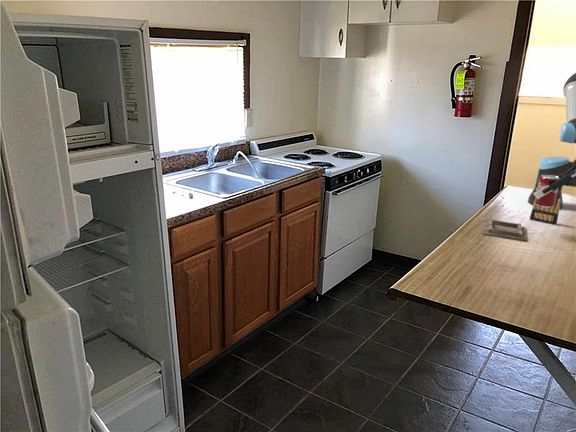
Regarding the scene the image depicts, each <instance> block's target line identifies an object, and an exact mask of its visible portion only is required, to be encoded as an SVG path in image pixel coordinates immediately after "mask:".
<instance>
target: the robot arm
mask: <svg viewBox="0 0 576 432" xmlns="http://www.w3.org/2000/svg"><path fill="white" fill-rule="evenodd" d="M562 91H563V96H564V98H565V120H566V121H565V123H563V124H562V125H561V127H560V132H559V141H560V142H562V143H567V144H576V72H574V73H573V74H572V75H570V76H569V77H568V79H567V80H566V81H565V83H564V85H563V89H562ZM541 175H554V176H557V177H559V179H558V180H556V181H555V182H553V183H552V184H550V183H548V185H547V186H545V187H544V188H542V189H540V190H539V191H537V189H538V184H539V180H540V176H541ZM565 186H566V187H572V188H573V187H574V188H576V157H574V159H573V161H570V159H569V157H565V156H564V157H563V156H548V157H547V156H546V157H544V158H542V159H541V160H540V164H539V166H538V172H537V177H536V180H535V185H534V188H533V190H532V191H531V193H530V194H529V195H528V200H527V203H528V204H530V205H532V206H533V204H534V201H535V197H536V198H537V199H539V198H541V197H542V196H544V195H546V194H548V193H549V192H551V191H553V190H554V191H555V190H556V189H558V192H557V196H556V205H555V208H556V206H557V203H558V200H559V198H561V203H560V209H561V208H562V207H563V203H564V202H563V201H564V200H563V193H562V191H563V187H565Z"/></svg>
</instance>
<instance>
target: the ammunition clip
mask: <svg viewBox="0 0 576 432" xmlns="http://www.w3.org/2000/svg"><path fill="white" fill-rule="evenodd" d="M535 198H536V197H535ZM560 203H561V198H559V200H558V203H557V206H556V208H555V205H556V200H555V205H554V206H553V207H551V208H546V207H540V206H537V205H536V204H535V201H534V204H533V205H532V208H531V212H530V216H529V219H528V220H530V221H534V222H539V223H544V224H548V225H553V226H557V223H558V219H559V214H560V209H561V208H560Z"/></svg>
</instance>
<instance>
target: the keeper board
mask: <svg viewBox="0 0 576 432" xmlns="http://www.w3.org/2000/svg"><path fill="white" fill-rule="evenodd" d="M526 231H527V230H526V227H525V226H522V224H521V223H514V222H508V221H502V220H496V219H495V220H494V219H490V218H489V220H484V221H483V232H482V235H483V236H488V237H489V236H490V237H496V238H501V239H502V238H503V239H506V240H507V239H509V240H515V241H520V242H526V243H527V242H528V239H527V238H528V237H527V232H526Z"/></svg>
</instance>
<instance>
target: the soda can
mask: <svg viewBox="0 0 576 432" xmlns="http://www.w3.org/2000/svg"><path fill="white" fill-rule="evenodd" d="M558 179H559V177H557V176H554V175H541V176H540V180H539V184H538V189H537V191H539V190H540V189H542V188H544V187H545V186H547V185H548V183H550V184H552V183H553V182H555V181H556V180H558ZM557 192H558V189H556V190H555V191H554V190H553V191H551V192H549V193H548V194H546V195H544V196H542V197H541V198H539V199H537V198H535V204H536V205H537V206H540V207H541V208H542V207H546V208H551V207H553V206H554V205H555V200H556V196H557Z"/></svg>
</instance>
